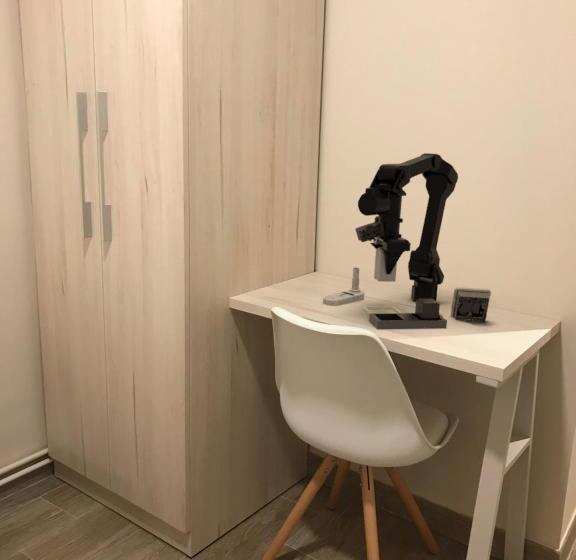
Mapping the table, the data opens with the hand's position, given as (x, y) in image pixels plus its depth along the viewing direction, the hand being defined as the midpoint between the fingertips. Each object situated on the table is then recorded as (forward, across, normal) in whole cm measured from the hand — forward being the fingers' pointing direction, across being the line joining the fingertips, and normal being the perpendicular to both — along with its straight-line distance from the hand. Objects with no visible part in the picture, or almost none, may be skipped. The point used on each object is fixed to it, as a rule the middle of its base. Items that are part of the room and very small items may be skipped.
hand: (385, 272), depth 165 cm
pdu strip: (+12, +11, +3) cm, 16 cm away
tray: (+12, 0, 0) cm, 12 cm away
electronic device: (+12, -13, -7) cm, 19 cm away
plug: (+2, 0, 0) cm, 2 cm away
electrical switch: (+12, +7, +22) cm, 26 cm away
